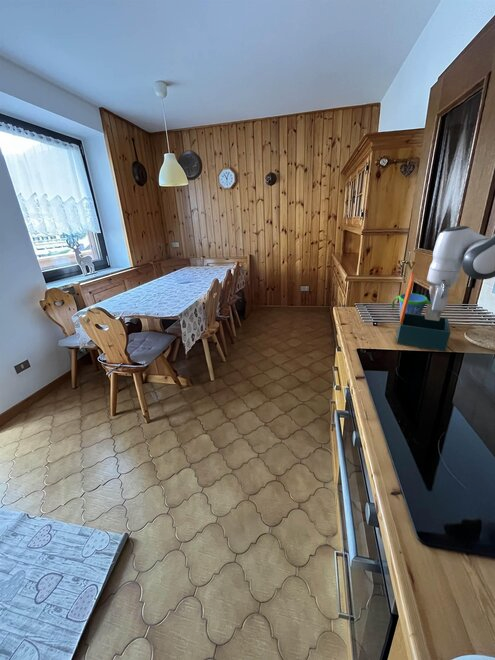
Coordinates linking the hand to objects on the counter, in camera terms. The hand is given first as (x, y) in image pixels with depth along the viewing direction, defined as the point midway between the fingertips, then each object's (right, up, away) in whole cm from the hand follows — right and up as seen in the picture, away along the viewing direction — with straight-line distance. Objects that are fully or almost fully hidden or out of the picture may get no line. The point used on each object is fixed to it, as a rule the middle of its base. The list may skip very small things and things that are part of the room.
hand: (432, 313), depth 103 cm
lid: (-8, +6, +2) cm, 10 cm away
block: (0, -2, +1) cm, 2 cm away
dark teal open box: (-1, -10, +6) cm, 11 cm away
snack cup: (+4, -1, +22) cm, 23 cm away
